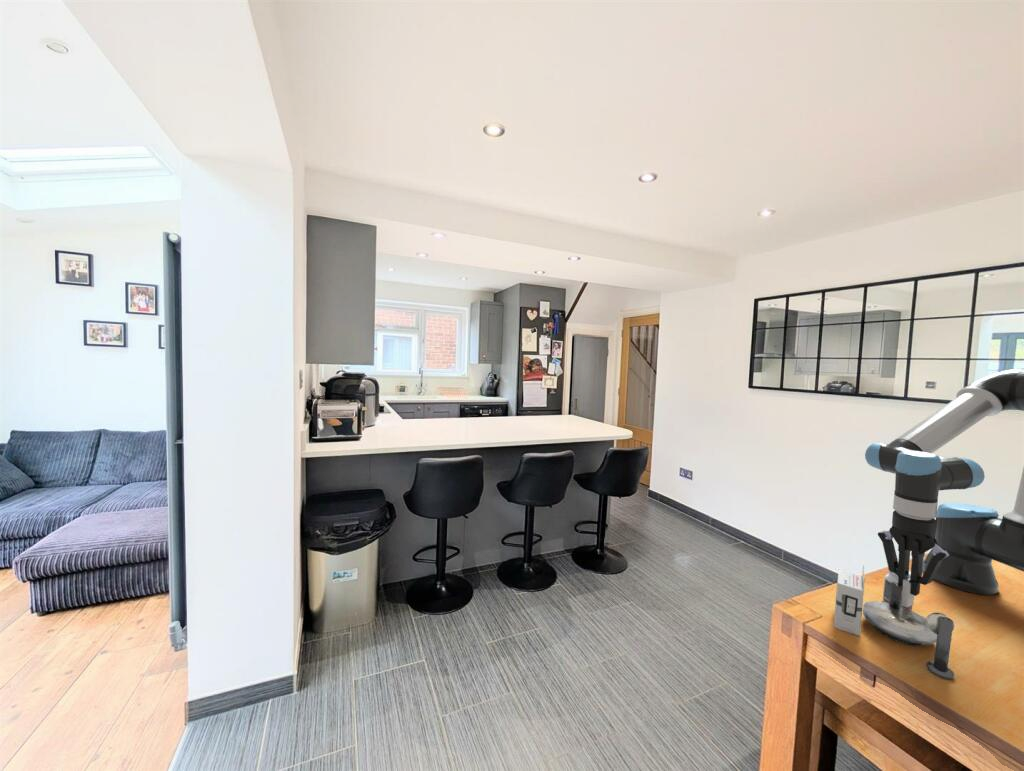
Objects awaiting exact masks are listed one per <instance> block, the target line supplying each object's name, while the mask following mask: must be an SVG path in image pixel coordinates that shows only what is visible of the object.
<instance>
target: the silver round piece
mask: <svg viewBox="0 0 1024 771" xmlns="http://www.w3.org/2000/svg"><path fill="white" fill-rule="evenodd" d="M901 592H902V585H901V584H899V583H896V582H891V588H890V598H889V603H885V602H884V601H876V600H873V601H871V600H870V601H867V602H865V603H863V607H862V614H863V615H862V616H864V618H865V619H866V621H868V622H869V623H870V624H871V625H874V626H876V627H877V628H879V629H881V630H883V631H884V632H886V633H888V634H891V635H893V636H895V637H898V638H900V639H903V640H907V641H910V642H914V643H920V644H923V645H932V644H936V640H937V634H935V633H934V632H933V631H931V630H930V629H929V628H928V627H927V626H926V623H925V620H926V617H924V616H922V615H920V614H918V613H916V612H914V611H912V610H911V611H910V610H908V609H905V608H903V607H900V601H901ZM874 626H873V627H874Z"/></svg>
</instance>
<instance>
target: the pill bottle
mask: <svg viewBox="0 0 1024 771" xmlns="http://www.w3.org/2000/svg"><path fill="white" fill-rule="evenodd" d="M887 568H888V567H887ZM887 572H888V573H887V574H885V576H884V582H883V584H884V585H883V593H882V602H885V603H889V598H890V588H891V582H896V583H898V576H897V575H896V574H895V573H894V572H890V571H889V568H888V570H887ZM909 574H910V575H911V570H909ZM910 575H909V576H908V577H909V578H910ZM901 603H902V592H901V601H900V607H903V608H905V609H908V610H910V611H912V609H913V605H911V606H909V607H906V606H904V605H902V604H901Z"/></svg>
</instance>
